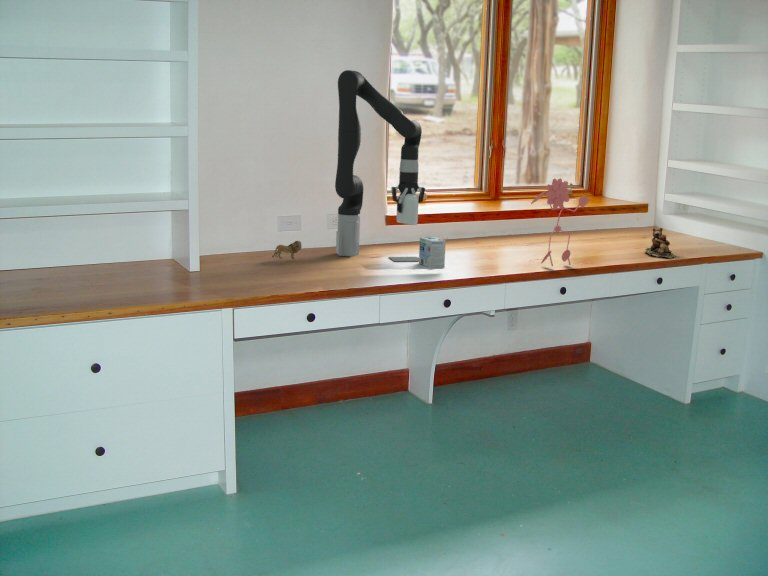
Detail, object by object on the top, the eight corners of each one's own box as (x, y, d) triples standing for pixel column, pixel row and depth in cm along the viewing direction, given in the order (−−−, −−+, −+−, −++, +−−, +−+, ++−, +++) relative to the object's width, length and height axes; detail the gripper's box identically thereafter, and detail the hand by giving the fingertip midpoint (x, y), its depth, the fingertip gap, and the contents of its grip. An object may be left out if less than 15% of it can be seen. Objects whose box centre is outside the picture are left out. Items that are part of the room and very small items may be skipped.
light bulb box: (418, 263, 361) (419, 236, 359) (433, 262, 364) (434, 236, 362) (429, 268, 352) (431, 240, 349) (445, 267, 354) (446, 240, 352)
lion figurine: (301, 257, 365) (301, 240, 364) (301, 259, 361) (301, 241, 359) (271, 257, 364) (271, 239, 363) (271, 259, 360) (271, 240, 358)
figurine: (587, 264, 372) (594, 179, 365) (537, 267, 360) (543, 180, 353) (564, 258, 385) (570, 176, 378) (514, 261, 373) (520, 176, 366)
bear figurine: (643, 256, 399) (645, 229, 397) (645, 252, 413) (647, 225, 411) (675, 259, 395) (678, 231, 393) (676, 254, 409) (678, 227, 406)
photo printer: (394, 222, 368) (395, 192, 366) (402, 221, 371) (403, 191, 368) (411, 225, 360) (412, 194, 358) (419, 225, 363) (420, 194, 361)
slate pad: (394, 261, 362) (394, 261, 362) (388, 257, 372) (388, 256, 372) (423, 261, 365) (423, 260, 365) (416, 257, 375) (416, 256, 375)
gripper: (394, 171, 356) (392, 213, 359) (428, 171, 360) (426, 213, 363) (389, 169, 363) (387, 211, 367) (423, 170, 367) (421, 211, 370)
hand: (407, 212), depth 365 cm, fingers closed on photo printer, 5 cm apart
